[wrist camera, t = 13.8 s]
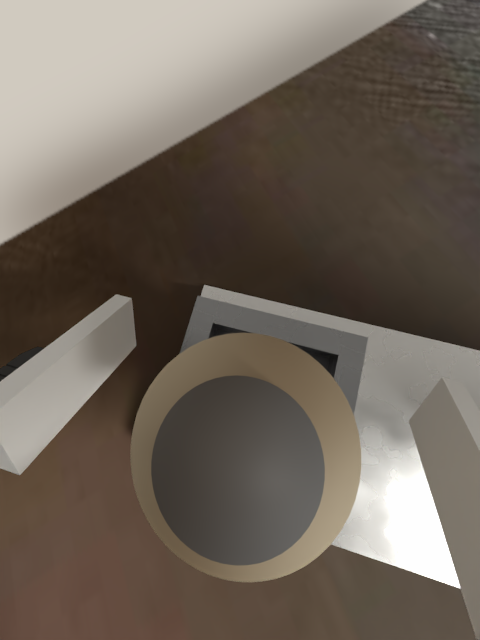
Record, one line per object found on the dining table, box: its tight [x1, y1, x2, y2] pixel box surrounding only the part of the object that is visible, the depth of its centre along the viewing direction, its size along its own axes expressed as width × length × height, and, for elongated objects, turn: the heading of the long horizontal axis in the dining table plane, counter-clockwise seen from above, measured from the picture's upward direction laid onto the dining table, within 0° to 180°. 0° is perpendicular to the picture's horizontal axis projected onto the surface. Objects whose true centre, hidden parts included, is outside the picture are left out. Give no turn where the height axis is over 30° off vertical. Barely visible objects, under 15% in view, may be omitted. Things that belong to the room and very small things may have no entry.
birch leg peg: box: [130, 333, 361, 582], centre depth 12 cm, size 4×4×15 cm
